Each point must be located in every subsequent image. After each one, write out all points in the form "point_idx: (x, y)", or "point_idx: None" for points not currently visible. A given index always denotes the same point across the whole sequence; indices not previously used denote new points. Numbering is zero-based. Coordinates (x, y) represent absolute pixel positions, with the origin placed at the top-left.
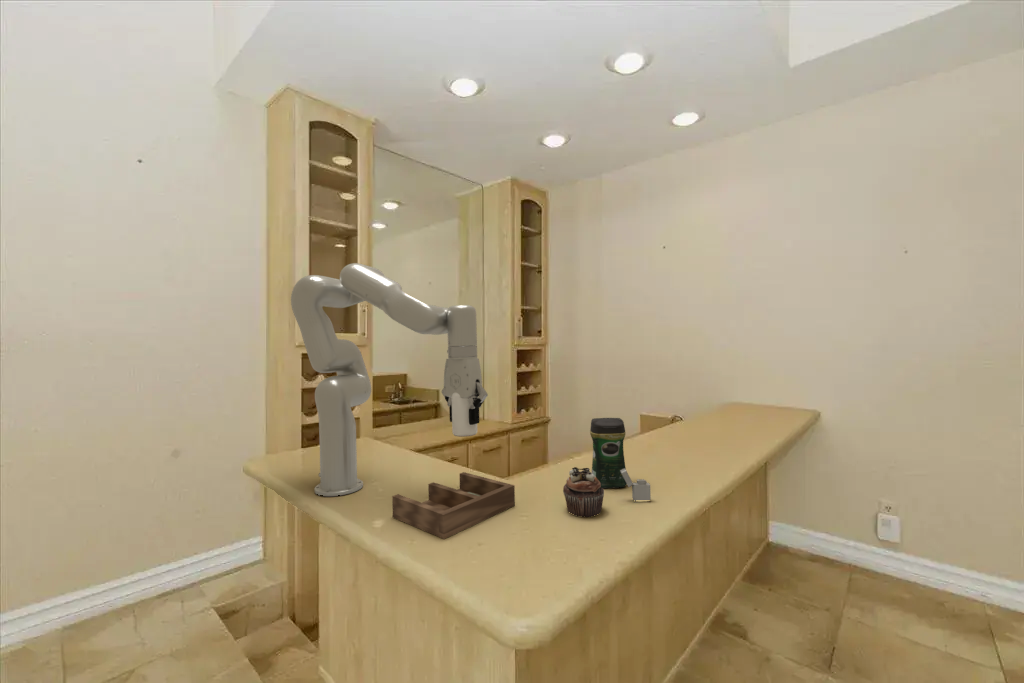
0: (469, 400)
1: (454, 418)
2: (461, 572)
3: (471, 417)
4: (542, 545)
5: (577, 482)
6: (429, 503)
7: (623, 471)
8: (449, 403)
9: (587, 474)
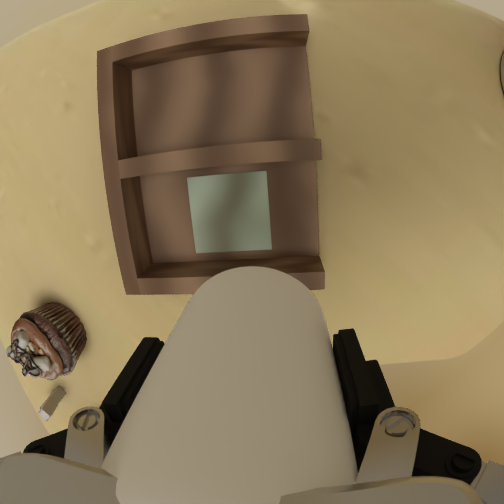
0: (90, 463)
1: (245, 314)
2: (39, 47)
3: (129, 368)
4: (15, 183)
5: (18, 332)
6: (289, 125)
7: (40, 411)
8: (392, 431)
9: (10, 351)
